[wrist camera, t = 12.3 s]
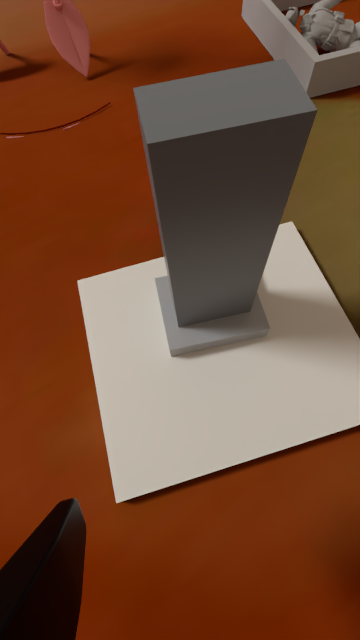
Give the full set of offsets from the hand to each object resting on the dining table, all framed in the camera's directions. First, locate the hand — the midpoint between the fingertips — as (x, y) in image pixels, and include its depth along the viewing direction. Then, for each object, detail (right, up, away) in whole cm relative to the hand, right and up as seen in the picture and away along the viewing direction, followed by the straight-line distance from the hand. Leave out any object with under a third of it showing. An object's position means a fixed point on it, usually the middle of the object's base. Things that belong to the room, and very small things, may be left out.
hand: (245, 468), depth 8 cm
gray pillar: (0, +5, +12) cm, 13 cm away
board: (+1, +3, +12) cm, 12 cm away
